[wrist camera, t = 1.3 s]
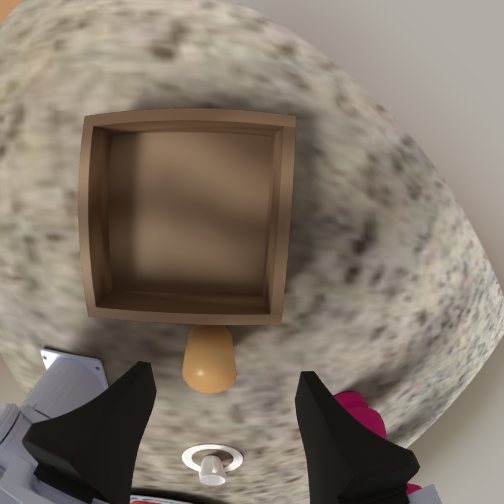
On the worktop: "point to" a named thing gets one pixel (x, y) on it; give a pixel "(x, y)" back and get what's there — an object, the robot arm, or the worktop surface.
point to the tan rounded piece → (209, 359)
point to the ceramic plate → (153, 500)
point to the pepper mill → (367, 419)
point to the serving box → (186, 215)
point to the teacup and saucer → (212, 463)
